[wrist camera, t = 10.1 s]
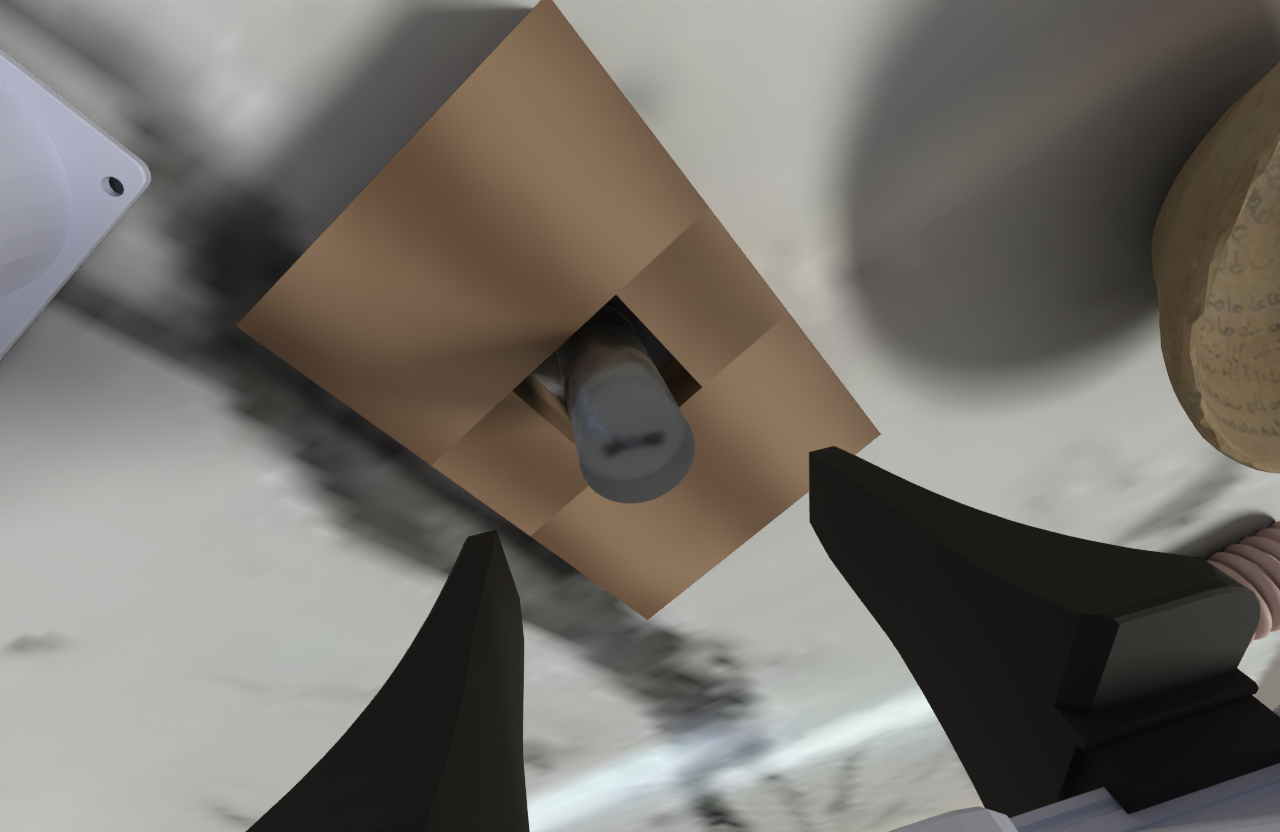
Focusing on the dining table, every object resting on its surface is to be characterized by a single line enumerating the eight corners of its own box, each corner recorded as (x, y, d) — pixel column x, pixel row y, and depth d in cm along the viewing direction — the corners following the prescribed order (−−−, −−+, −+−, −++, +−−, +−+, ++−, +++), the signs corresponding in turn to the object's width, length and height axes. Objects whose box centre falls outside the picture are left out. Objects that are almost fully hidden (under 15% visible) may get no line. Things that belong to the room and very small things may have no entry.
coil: (1071, 746, 36) (1357, 604, 35) (1072, 713, 33) (1382, 558, 32) (1012, 676, 39) (1268, 547, 38) (1008, 641, 37) (1284, 501, 36)
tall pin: (566, 388, 23) (594, 516, 16) (544, 315, 21) (566, 420, 15) (642, 368, 23) (702, 485, 16) (626, 294, 22) (685, 388, 15)
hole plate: (633, 571, 28) (647, 619, 25) (270, 295, 19) (235, 326, 17) (842, 400, 26) (880, 434, 23) (539, 9, 17) (547, -7, 15)
